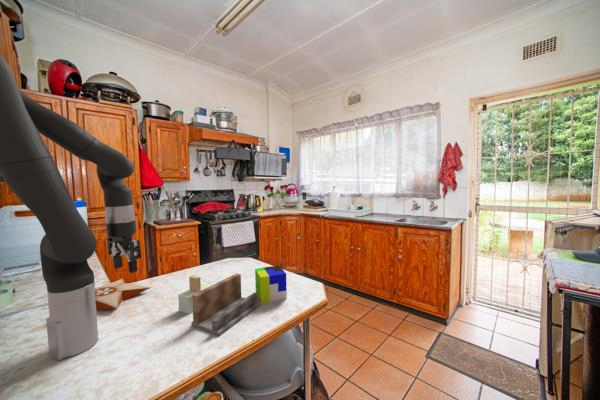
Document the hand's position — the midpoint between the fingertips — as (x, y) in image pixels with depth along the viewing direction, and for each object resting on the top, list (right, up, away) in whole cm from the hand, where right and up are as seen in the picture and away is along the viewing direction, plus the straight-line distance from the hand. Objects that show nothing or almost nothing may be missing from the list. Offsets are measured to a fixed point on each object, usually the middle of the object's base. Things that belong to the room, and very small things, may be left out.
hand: (125, 270), depth 76 cm
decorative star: (-19, -17, +15) cm, 30 cm away
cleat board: (+32, -17, +5) cm, 36 cm away
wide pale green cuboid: (+18, -17, +11) cm, 27 cm away
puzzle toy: (+44, -16, +19) cm, 51 cm away
